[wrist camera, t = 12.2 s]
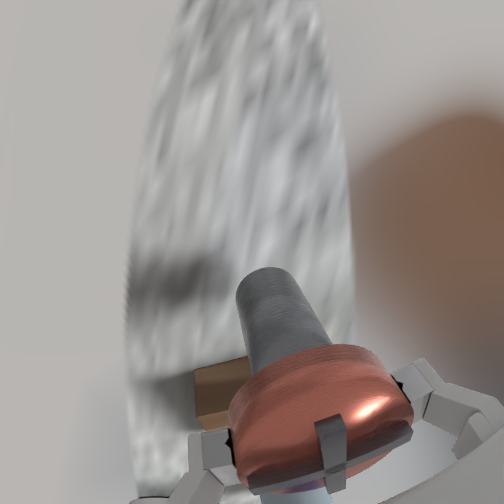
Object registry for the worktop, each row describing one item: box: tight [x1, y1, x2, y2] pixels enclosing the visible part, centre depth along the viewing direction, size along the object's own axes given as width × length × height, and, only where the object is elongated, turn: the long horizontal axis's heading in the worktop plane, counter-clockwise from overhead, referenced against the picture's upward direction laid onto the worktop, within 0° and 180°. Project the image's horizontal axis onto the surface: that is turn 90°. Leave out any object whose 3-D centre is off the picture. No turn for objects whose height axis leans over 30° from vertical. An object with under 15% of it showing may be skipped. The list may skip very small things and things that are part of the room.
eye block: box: [194, 356, 252, 432], centre depth 23 cm, size 9×9×5 cm
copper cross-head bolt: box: [228, 267, 414, 496], centre depth 12 cm, size 6×6×11 cm
